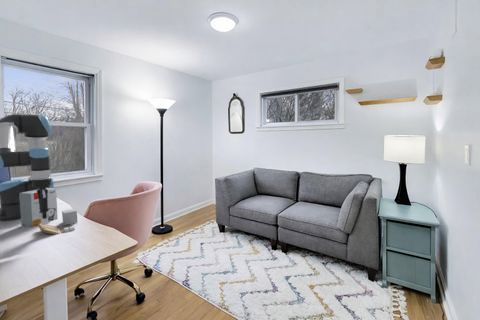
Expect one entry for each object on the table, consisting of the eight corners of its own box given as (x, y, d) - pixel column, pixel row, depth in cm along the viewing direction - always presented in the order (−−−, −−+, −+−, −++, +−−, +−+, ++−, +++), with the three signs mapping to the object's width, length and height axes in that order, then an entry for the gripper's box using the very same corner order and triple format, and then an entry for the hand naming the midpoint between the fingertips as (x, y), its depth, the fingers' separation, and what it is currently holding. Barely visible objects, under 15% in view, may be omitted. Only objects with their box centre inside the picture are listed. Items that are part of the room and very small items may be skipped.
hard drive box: (32, 229, 132) (29, 193, 130) (20, 228, 133) (17, 193, 131) (58, 219, 147) (56, 187, 145) (48, 219, 148) (46, 187, 146)
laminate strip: (57, 228, 132) (56, 226, 132) (70, 226, 137) (69, 223, 137) (61, 235, 124) (61, 232, 124) (75, 232, 128) (75, 229, 128)
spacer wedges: (64, 230, 126) (63, 228, 126) (73, 228, 129) (73, 226, 129) (64, 231, 125) (64, 229, 125) (74, 229, 128) (74, 227, 128)
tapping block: (62, 224, 139) (62, 211, 139) (75, 221, 144) (74, 208, 143) (65, 227, 135) (64, 213, 134) (77, 224, 139) (76, 210, 139)
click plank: (37, 225, 126) (39, 223, 127) (54, 229, 132) (56, 226, 132) (41, 231, 118) (42, 229, 118) (59, 235, 123) (60, 233, 123)
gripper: (30, 177, 122) (33, 223, 124) (32, 181, 113) (36, 229, 115) (48, 176, 127) (51, 219, 129) (52, 179, 118) (56, 225, 120)
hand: (44, 224), depth 122 cm, fingers closed
